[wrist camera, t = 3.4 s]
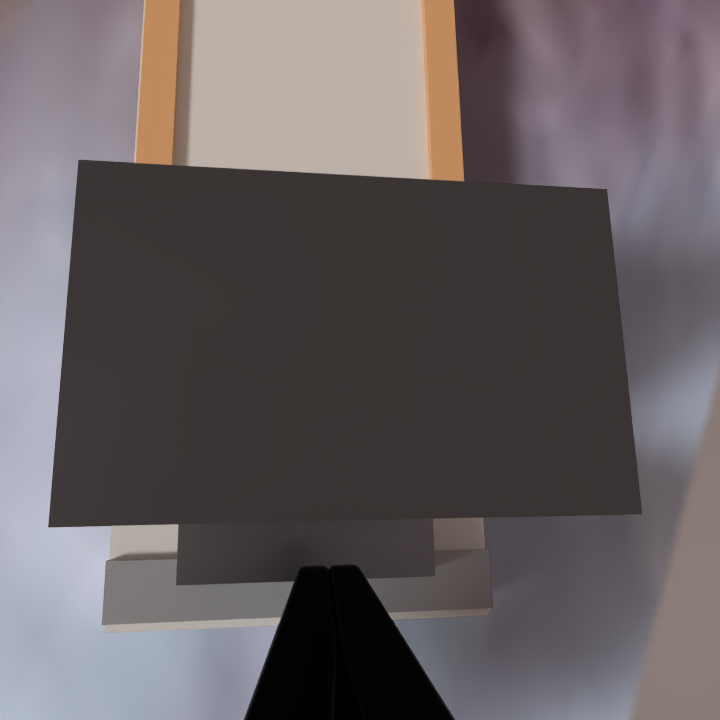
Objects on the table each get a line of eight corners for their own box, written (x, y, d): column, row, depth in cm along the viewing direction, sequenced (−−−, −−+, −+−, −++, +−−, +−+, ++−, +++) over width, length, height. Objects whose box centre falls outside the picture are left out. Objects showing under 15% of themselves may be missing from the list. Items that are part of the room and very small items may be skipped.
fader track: (461, 602, 16) (493, 618, 14) (125, 616, 15) (101, 635, 13) (431, -17, 20) (452, -83, 18) (162, -45, 19) (149, -118, 17)
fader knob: (432, 570, 14) (657, 658, 6) (172, 579, 13) (35, 694, 5) (421, 302, 15) (594, 82, 7) (184, 295, 14) (88, 41, 6)
